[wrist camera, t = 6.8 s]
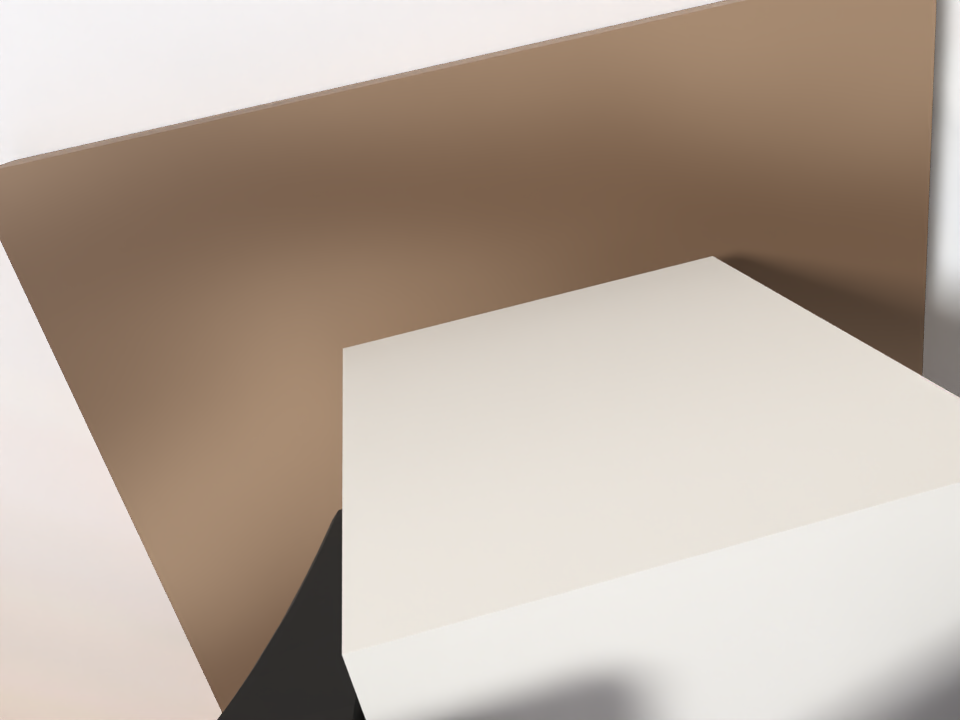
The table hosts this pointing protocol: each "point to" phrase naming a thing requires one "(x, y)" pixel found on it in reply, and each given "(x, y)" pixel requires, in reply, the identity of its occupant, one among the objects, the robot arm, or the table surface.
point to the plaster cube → (648, 514)
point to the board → (448, 248)
